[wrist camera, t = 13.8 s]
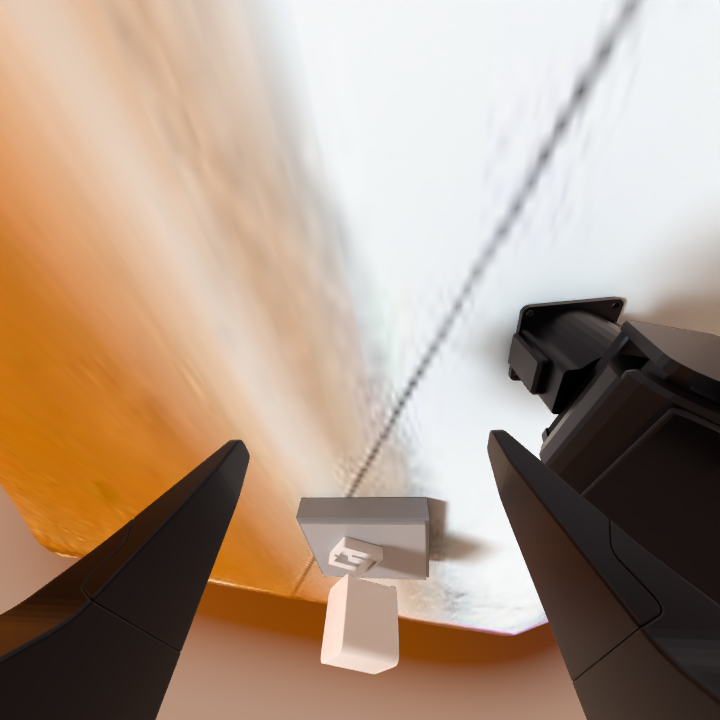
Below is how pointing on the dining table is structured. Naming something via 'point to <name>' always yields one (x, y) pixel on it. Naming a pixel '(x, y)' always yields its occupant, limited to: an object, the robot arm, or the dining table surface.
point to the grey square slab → (370, 533)
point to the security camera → (360, 613)
